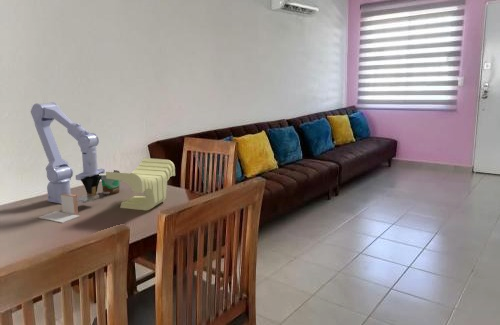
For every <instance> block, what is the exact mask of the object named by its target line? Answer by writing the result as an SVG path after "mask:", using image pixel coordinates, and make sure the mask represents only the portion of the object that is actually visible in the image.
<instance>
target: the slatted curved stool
mask: <svg viewBox="0 0 500 325" xmlns="http://www.w3.org/2000/svg"><path fill="white" fill-rule="evenodd" d="M105 175H106V179H114V180H120V182H123V183H125V184H127V185H129V187H130V188H131V190H132V193H139V194H140V193H141V194H143V193H144V196H143V195H134V196H132V197H130V198H128V199H126V200H124V201H122V202H121V203H120V207H119V208H120V209H128V210H129V209H131V210H140V211H149V210H151V209H153V208H155V207H156V206H158V205H160V204H161V203H162V202H164V201H165V200H166V198H167V187H168V181H169V179H170V177H175V176H176V167H175V164H174V162H173V161H171V160H170V159H162V158H149V157H143V158H142V160H141V162H140V163H139V164H138V166H136V167H135V169H134V170H132V171H131V172H130V173H129V172H128V173H126V172H120V173H116V172H114V171H105Z"/></svg>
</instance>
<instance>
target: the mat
mask: <svg viewBox="0 0 500 325" xmlns="http://www.w3.org/2000/svg"><path fill="white" fill-rule="evenodd" d="M79 217H80V215H79V214H77V215H73V214H68V213H63V212H62V211H57V210H55V211H53V212H50V213H47V214H44V215H42V216H39V217H38V218H39V219H42V220H46V221H51V222H56V223H61V224H63V223H67V222H69V221H71V220H74V219H76V218H79Z"/></svg>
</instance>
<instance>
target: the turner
mask: <svg viewBox="0 0 500 325" xmlns="http://www.w3.org/2000/svg"><path fill="white" fill-rule="evenodd" d="M99 198H100V195H99V194H97V192H96V186H92V194H88V193H87V192H86V194H84V195H82V196H78V197H77V203H84V204H86V203H89V202H92V201H94V200H96V199H99Z"/></svg>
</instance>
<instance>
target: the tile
mask: <svg viewBox="0 0 500 325" xmlns="http://www.w3.org/2000/svg"><path fill="white" fill-rule="evenodd" d="M77 198H78V197H77V194H73V193H71V194H66V193H63V194H61V202H62V204H61V208H62V209H61V212H63V213H68V214H73V215H79V208H78V202H77Z"/></svg>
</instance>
